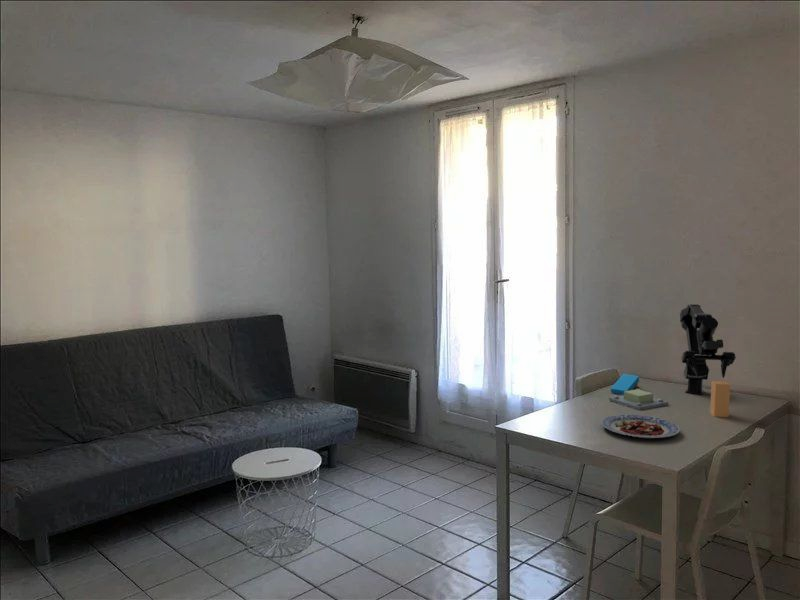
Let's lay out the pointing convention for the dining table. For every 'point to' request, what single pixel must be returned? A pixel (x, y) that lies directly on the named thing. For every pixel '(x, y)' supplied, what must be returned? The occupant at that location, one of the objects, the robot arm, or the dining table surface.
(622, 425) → the ceramic plate
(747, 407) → the dining table surface
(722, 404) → the orange brick
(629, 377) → the blue long block
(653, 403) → the tower base
